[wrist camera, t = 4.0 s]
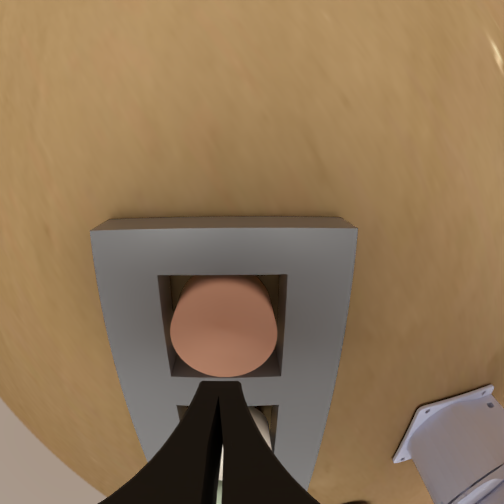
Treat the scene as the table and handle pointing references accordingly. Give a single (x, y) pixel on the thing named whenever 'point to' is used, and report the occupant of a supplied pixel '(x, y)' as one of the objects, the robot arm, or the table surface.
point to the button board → (229, 263)
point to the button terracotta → (224, 324)
